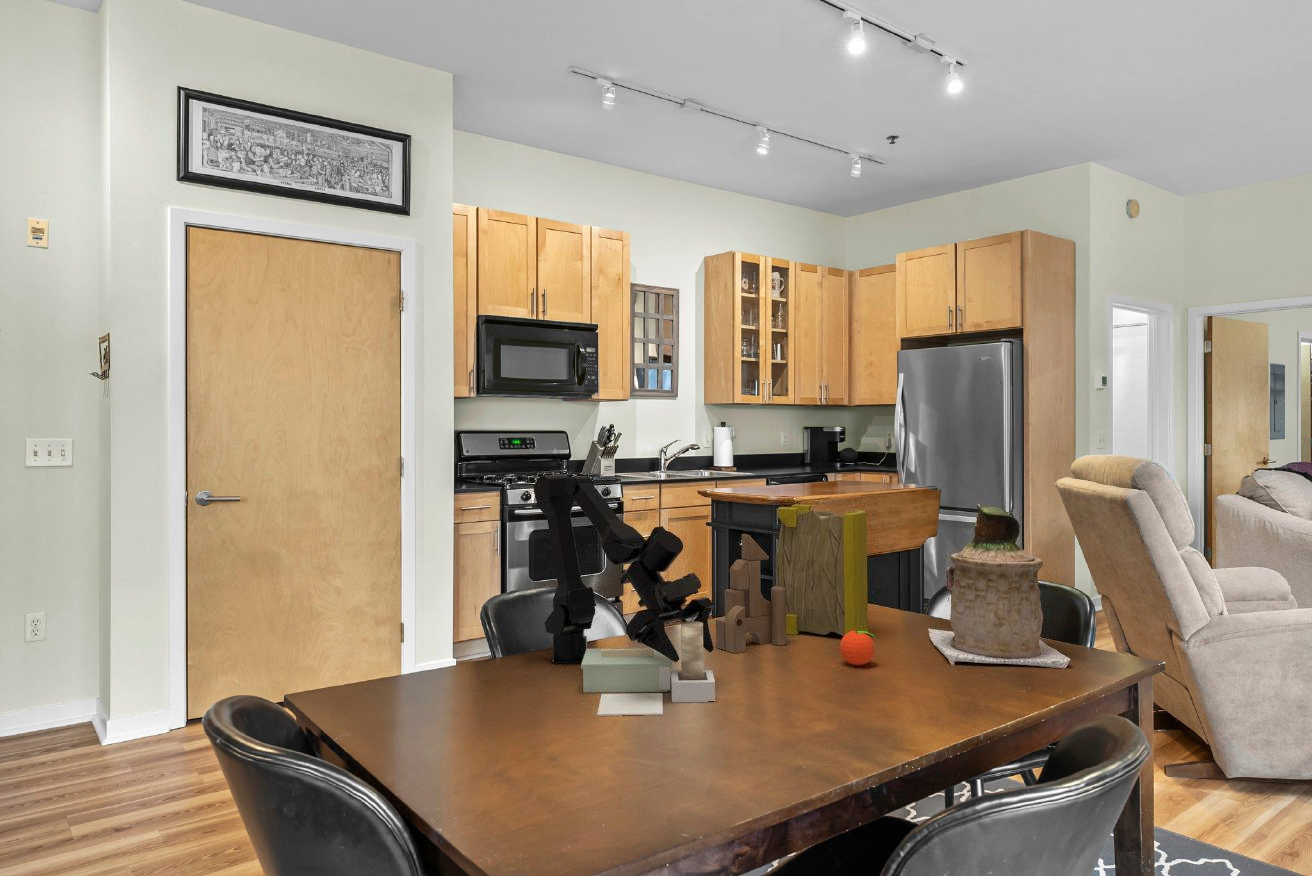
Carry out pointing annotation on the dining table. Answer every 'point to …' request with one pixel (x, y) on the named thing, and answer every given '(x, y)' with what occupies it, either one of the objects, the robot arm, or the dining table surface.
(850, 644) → the clementine
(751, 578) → the wooden toy
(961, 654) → the cookie jar
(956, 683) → the dining table surface
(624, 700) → the mat
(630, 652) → the pale green box
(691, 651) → the beige cylinder
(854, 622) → the decorative book
